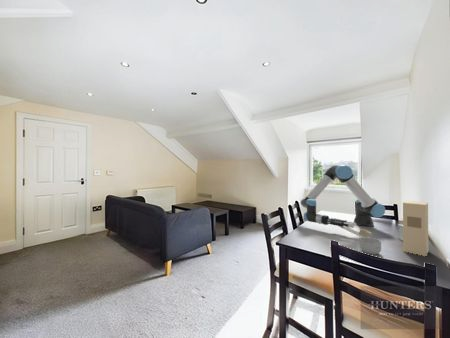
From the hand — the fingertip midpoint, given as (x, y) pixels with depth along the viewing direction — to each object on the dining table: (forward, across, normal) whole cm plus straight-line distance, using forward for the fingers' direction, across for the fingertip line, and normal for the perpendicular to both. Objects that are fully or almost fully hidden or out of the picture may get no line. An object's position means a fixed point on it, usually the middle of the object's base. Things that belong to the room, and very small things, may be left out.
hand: (354, 225), depth 147 cm
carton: (+33, 0, -9) cm, 34 cm away
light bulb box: (+27, -20, -9) cm, 35 cm away
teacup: (+15, +22, -9) cm, 28 cm away
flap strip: (0, 0, -6) cm, 6 cm away
